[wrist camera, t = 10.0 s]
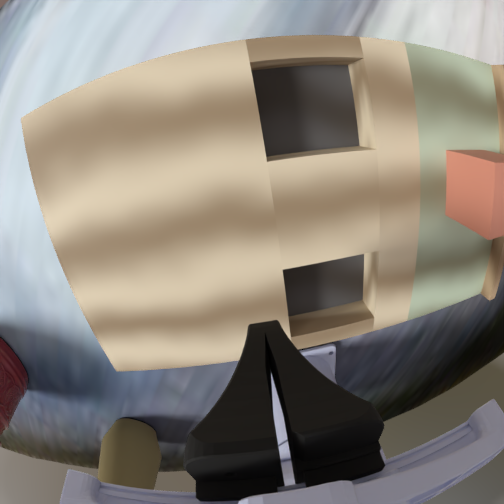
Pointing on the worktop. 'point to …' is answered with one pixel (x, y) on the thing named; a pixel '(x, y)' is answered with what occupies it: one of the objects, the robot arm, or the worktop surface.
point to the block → (476, 190)
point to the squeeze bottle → (130, 455)
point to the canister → (10, 384)
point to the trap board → (264, 193)
